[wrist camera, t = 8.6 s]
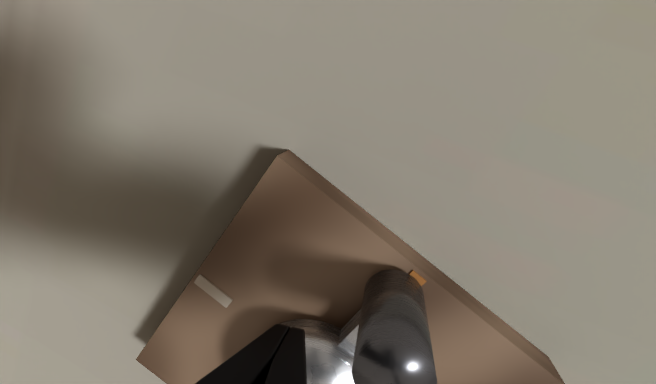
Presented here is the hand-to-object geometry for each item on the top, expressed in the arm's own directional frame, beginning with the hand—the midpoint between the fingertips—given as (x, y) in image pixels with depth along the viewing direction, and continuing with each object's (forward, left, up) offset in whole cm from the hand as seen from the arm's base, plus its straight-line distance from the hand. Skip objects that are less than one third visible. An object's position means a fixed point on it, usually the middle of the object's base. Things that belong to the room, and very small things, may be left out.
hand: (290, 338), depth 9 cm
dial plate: (-3, +5, -6) cm, 9 cm away
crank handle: (-3, +3, -4) cm, 6 cm away
